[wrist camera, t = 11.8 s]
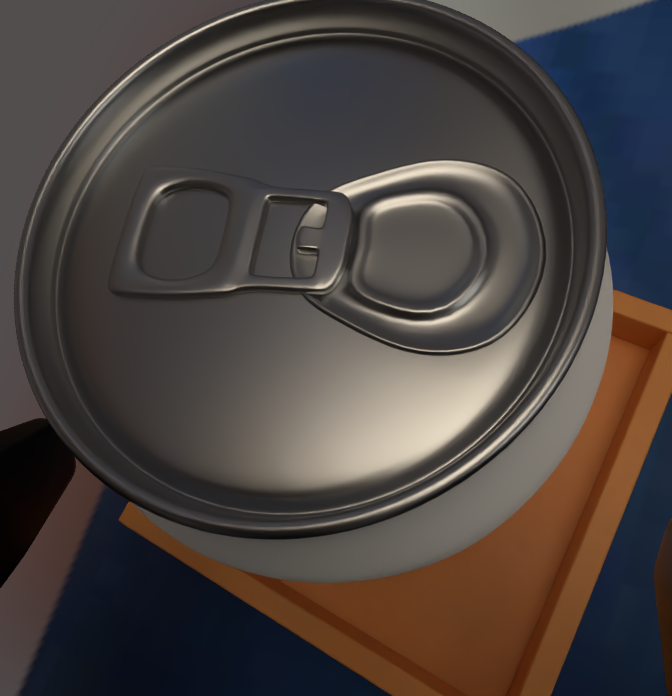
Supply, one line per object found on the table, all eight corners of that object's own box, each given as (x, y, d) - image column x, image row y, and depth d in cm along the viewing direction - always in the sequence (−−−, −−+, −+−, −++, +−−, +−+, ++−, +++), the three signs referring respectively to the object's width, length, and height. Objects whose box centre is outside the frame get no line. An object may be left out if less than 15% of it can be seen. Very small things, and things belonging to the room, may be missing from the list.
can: (510, 586, 15) (658, 694, 4) (268, 539, 17) (-128, 519, 5) (531, 343, 17) (673, -61, 6) (311, 321, 18) (82, -32, 7)
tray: (511, 748, 14) (518, 777, 13) (152, 523, 18) (116, 520, 16) (674, 345, 17) (701, 319, 15) (326, 215, 20) (312, 181, 18)
